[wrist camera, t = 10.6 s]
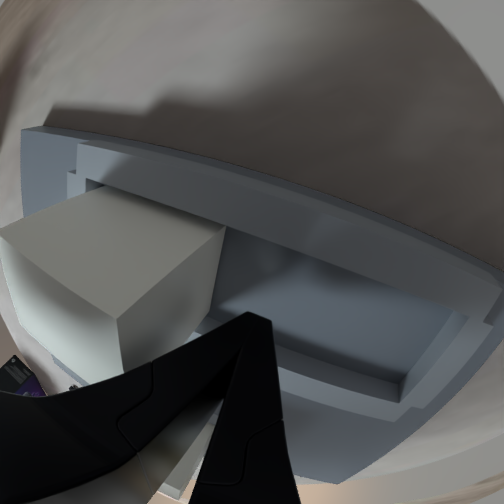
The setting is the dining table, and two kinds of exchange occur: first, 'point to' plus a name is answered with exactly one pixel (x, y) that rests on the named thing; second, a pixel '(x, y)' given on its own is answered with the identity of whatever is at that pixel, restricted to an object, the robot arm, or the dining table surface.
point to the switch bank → (307, 291)
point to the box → (19, 379)
